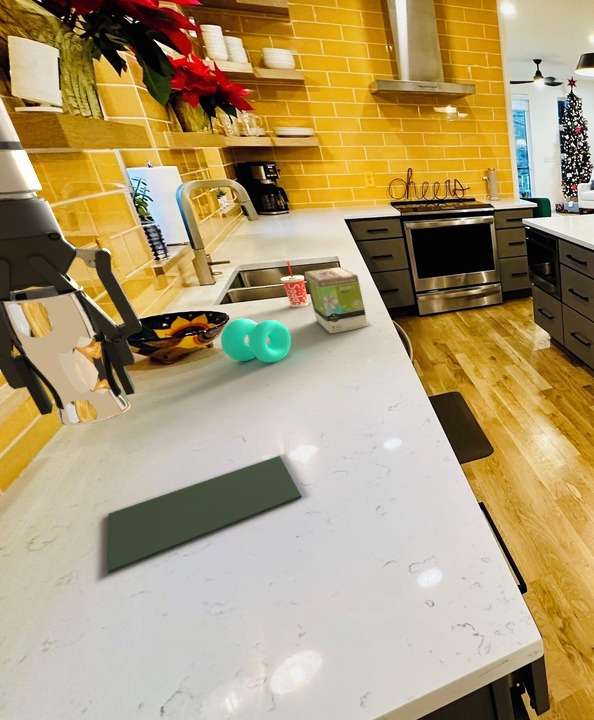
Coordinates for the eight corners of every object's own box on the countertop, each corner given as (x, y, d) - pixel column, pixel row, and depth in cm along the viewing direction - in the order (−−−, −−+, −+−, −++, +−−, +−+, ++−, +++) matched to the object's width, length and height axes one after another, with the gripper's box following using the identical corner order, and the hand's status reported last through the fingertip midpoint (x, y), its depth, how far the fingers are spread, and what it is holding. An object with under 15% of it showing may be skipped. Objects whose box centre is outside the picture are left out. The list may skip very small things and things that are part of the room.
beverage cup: (284, 308, 155) (271, 263, 149) (295, 302, 161) (282, 259, 155) (305, 308, 155) (292, 263, 150) (315, 302, 161) (303, 259, 155)
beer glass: (131, 395, 65) (81, 281, 59) (141, 411, 61) (89, 291, 55) (52, 415, 60) (-11, 293, 54) (58, 435, 56) (-10, 305, 50)
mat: (109, 516, 69) (108, 513, 69) (280, 458, 82) (279, 455, 81) (109, 574, 60) (107, 571, 59) (302, 498, 72) (301, 495, 72)
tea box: (370, 326, 140) (358, 274, 134) (330, 335, 134) (315, 281, 128) (353, 314, 150) (342, 265, 144) (315, 321, 144) (302, 270, 138)
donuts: (261, 351, 123) (248, 312, 119) (298, 353, 122) (287, 314, 118) (226, 367, 114) (211, 326, 110) (266, 369, 113) (252, 328, 109)
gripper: (-197, 208, 42) (-45, 443, 51) (121, 193, 54) (197, 384, 63) (-164, 201, 47) (-31, 417, 56) (120, 189, 59) (191, 367, 68)
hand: (90, 399), depth 59 cm, fingers closed on beer glass, 6 cm apart
